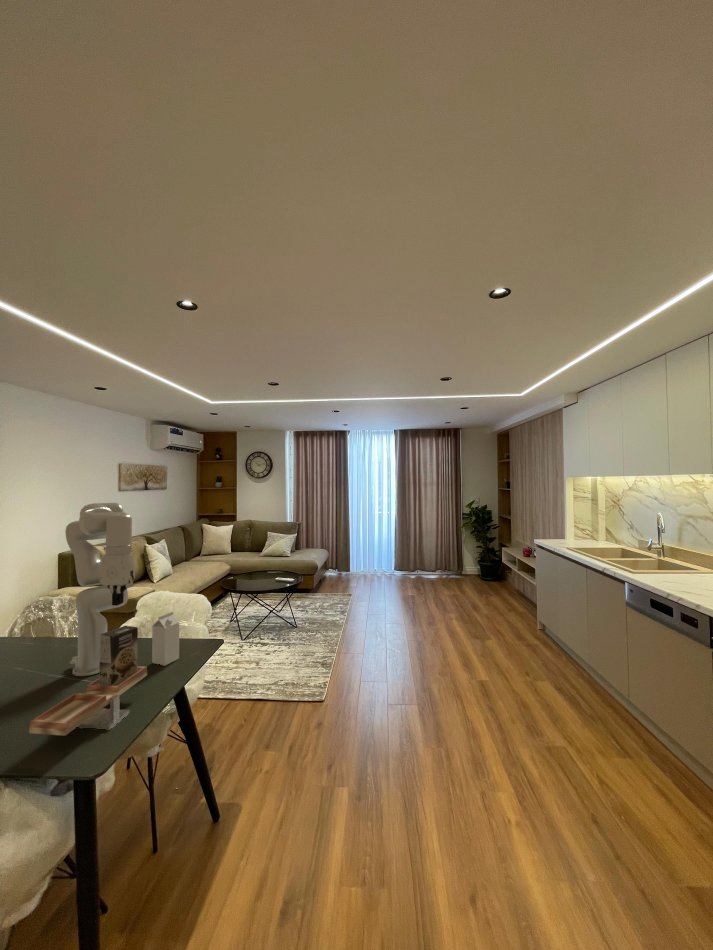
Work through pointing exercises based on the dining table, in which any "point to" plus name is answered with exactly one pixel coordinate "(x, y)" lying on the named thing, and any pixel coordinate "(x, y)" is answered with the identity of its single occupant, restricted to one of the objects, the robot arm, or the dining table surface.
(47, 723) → the seesaw beam
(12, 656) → the dining table surface
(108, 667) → the coffee box
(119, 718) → the seesaw stand
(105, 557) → the robot arm
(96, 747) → the dining table surface
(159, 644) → the milk carton
